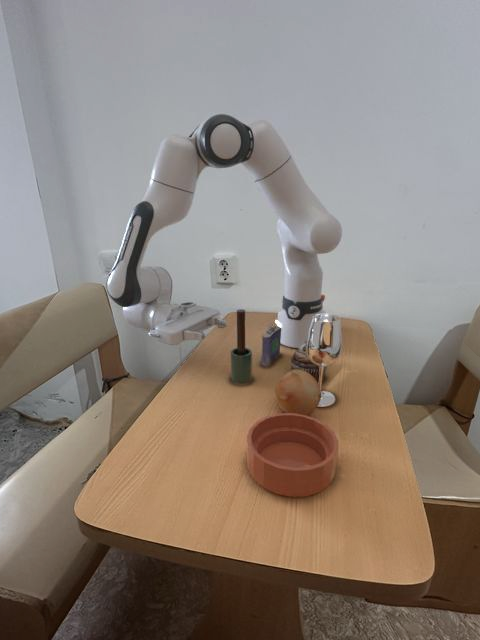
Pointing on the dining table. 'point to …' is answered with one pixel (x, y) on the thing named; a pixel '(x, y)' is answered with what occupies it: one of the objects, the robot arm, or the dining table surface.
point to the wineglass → (324, 347)
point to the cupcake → (305, 363)
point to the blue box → (271, 344)
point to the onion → (298, 392)
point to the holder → (241, 366)
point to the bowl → (292, 454)
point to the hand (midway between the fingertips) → (214, 330)
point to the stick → (240, 332)
